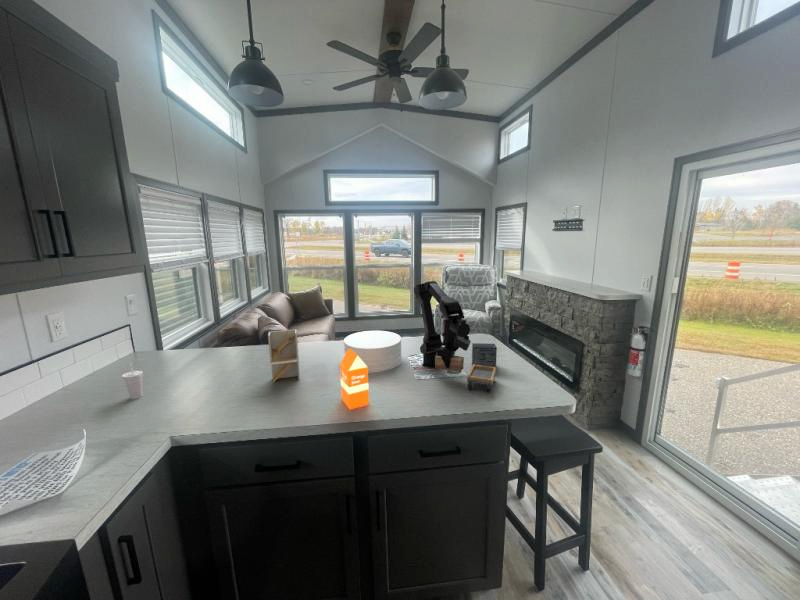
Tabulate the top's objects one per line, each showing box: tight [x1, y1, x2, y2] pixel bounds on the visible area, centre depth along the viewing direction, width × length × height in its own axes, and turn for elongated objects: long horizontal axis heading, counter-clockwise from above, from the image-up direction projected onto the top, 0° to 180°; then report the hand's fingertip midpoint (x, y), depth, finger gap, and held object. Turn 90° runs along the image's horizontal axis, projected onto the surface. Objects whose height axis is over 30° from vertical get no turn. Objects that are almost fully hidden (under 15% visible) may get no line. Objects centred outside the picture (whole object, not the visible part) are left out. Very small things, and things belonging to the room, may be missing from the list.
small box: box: [471, 342, 498, 368], centre depth 153 cm, size 11×6×10 cm, turn 84°
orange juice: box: [339, 348, 370, 410], centre depth 121 cm, size 8×9×20 cm
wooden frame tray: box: [466, 364, 497, 393], centre depth 135 cm, size 10×14×6 cm
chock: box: [434, 355, 465, 373], centre depth 140 cm, size 5×11×5 cm, turn 62°
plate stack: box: [343, 330, 402, 373], centre depth 161 cm, size 28×28×12 cm
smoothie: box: [121, 362, 144, 400], centre depth 127 cm, size 6×6×14 cm
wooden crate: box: [267, 324, 301, 383], centre depth 138 cm, size 8×12×26 cm
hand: (449, 365), depth 140 cm, fingers closed on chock, 5 cm apart
